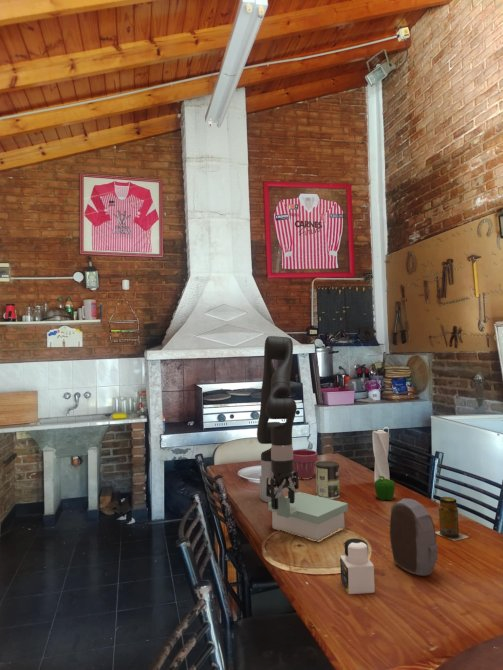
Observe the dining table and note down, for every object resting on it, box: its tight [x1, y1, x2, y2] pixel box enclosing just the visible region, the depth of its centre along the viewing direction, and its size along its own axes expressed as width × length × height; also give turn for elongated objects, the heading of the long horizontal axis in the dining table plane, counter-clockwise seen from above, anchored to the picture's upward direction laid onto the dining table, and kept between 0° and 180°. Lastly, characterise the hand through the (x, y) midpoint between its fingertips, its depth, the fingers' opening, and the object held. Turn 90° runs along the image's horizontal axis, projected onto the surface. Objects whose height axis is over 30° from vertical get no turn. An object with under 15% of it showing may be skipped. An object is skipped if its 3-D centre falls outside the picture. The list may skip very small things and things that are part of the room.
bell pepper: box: [374, 476, 396, 501], centre depth 197 cm, size 8×8×10 cm
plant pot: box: [293, 449, 318, 478], centre depth 235 cm, size 14×14×13 cm
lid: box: [267, 491, 349, 524], centre depth 163 cm, size 22×23×8 cm
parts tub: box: [271, 511, 346, 541], centre depth 165 cm, size 20×16×8 cm
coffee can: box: [315, 460, 341, 500], centre depth 203 cm, size 10×10×14 cm
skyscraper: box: [372, 426, 391, 482], centre depth 215 cm, size 8×8×28 cm
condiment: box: [435, 496, 469, 542], centre depth 157 cm, size 7×8×12 cm
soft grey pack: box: [389, 497, 438, 577], centre depth 132 cm, size 15×8×20 cm, turn 23°
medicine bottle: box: [339, 538, 375, 595], centre depth 123 cm, size 7×7×12 cm
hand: (283, 505), depth 155 cm, fingers open, 8 cm apart
